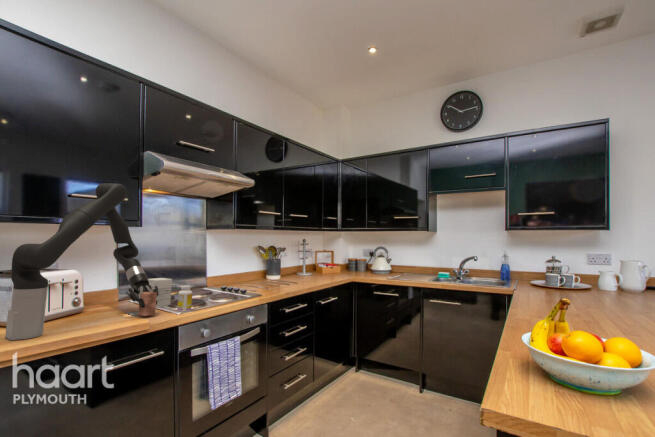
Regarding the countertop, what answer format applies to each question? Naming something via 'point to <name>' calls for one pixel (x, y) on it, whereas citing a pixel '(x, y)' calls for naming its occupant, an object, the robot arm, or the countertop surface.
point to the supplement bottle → (184, 299)
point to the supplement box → (162, 290)
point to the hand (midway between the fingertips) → (149, 305)
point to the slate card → (133, 313)
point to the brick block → (148, 304)
